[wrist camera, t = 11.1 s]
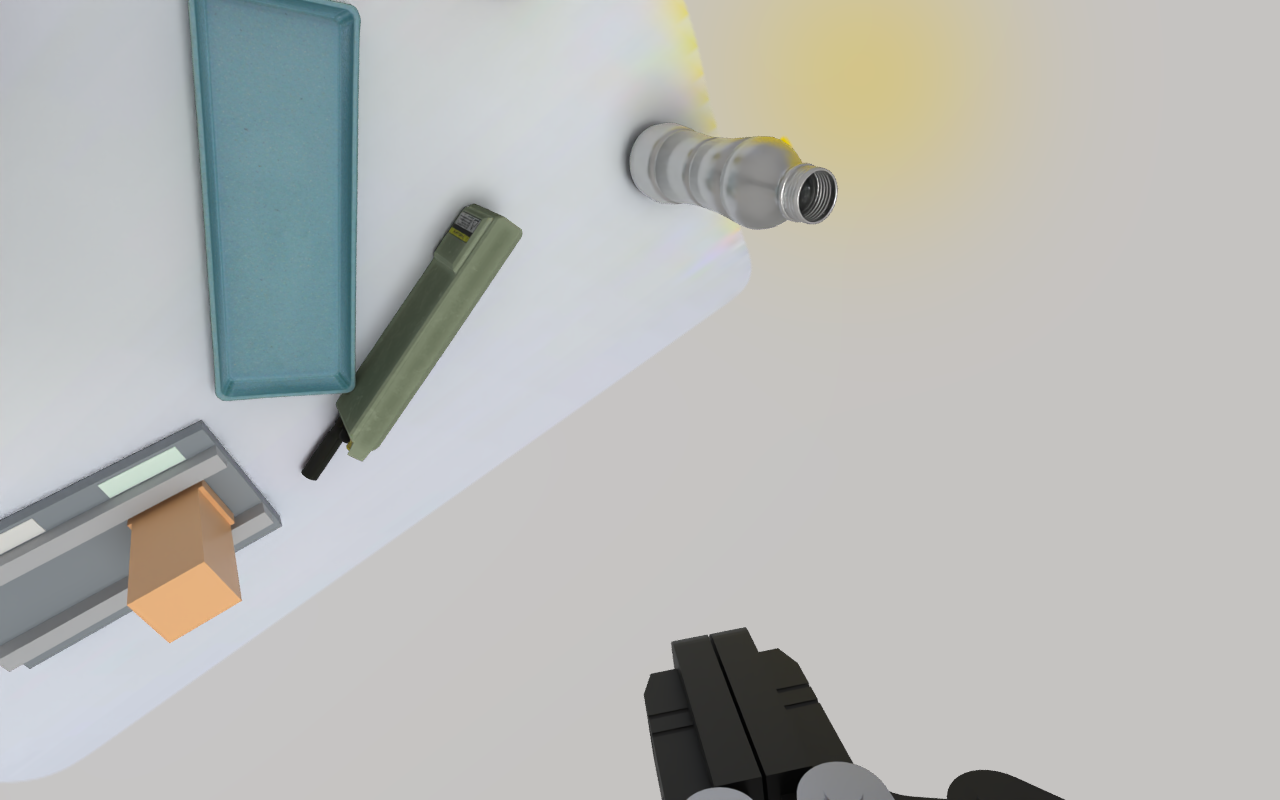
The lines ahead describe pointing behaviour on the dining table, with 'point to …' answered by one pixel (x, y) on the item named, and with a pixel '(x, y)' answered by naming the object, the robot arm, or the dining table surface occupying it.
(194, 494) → the switch tab
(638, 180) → the plastic bottle
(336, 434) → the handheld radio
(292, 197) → the rectangular tray
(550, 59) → the dining table surface
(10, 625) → the grey slotted base
